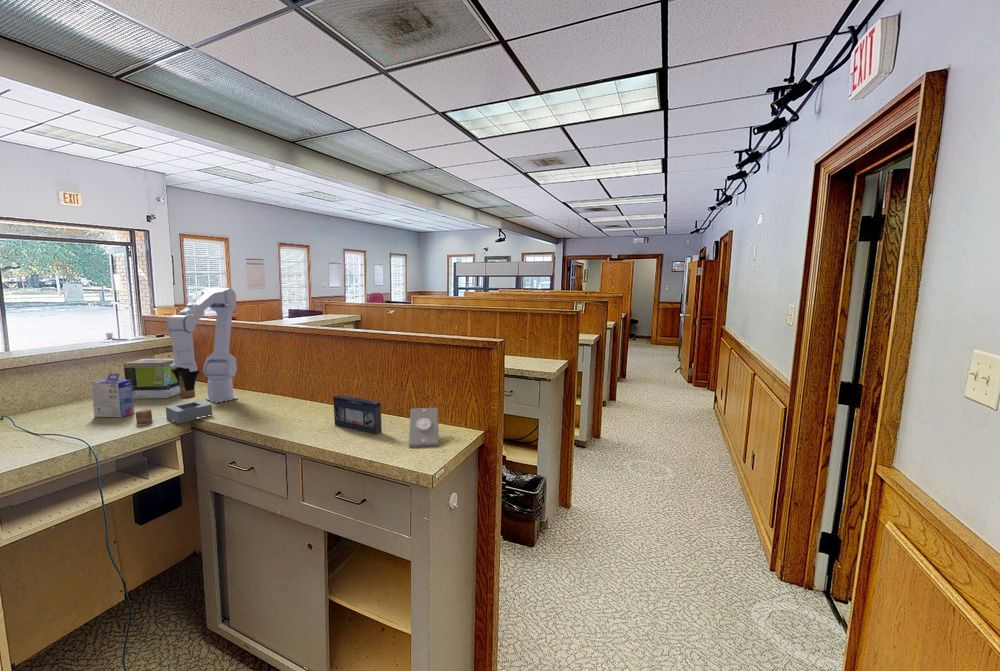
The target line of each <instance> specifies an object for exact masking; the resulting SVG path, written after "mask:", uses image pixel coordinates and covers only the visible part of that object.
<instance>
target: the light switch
mask: <svg viewBox="0 0 1000 671" xmlns="http://www.w3.org/2000/svg"><path fill="white" fill-rule="evenodd" d="M409 414H410V416H409V431H408V433H409V434H408V435H409V436H408V447H409V448H419V447H420V448H421V447H422V448H423V447H427V448H428V447H438V446H439V445H440V444H439V441H440V440H439V408H438V407H422V408H421V407H418V408H415V407H414V408H410V413H409Z"/></svg>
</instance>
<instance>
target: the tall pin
mask: <svg viewBox="0 0 1000 671" xmlns="http://www.w3.org/2000/svg"><path fill="white" fill-rule="evenodd" d="M179 384H180V393H179V394H180V399H181V400H190V399H194V398H196V390H195V388H196V387H194V390H190V391H186V390H185V387H184V383H183V380H182V377H181V376H180V375H179Z"/></svg>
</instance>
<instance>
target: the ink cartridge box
mask: <svg viewBox="0 0 1000 671" xmlns="http://www.w3.org/2000/svg"><path fill="white" fill-rule="evenodd" d="M120 374H121V373H109V374H108V376H107V379H103V380H98V381H94V382H91V393H92V404H93V416H94V417H95V418H122V417H125V416H129V415H133V414H135V407H134V399H133V394H132V384H131V380H125V379H119V377H120ZM113 376H115V377H113Z"/></svg>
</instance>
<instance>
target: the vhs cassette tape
mask: <svg viewBox="0 0 1000 671" xmlns="http://www.w3.org/2000/svg"><path fill="white" fill-rule="evenodd" d="M381 406H382V405H381V402H378V401H375V400H369V399H363V398H357V397H351V396H345V395H340V394H338V395H333V416H334V426H335V427H340V428H345V429H349V430H354V431H357V432H361V433H366V434H371V435H379V434H382V432H383V431H382V430H383V429H382V428H383V427H382V409H381V408H382V407H381Z"/></svg>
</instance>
